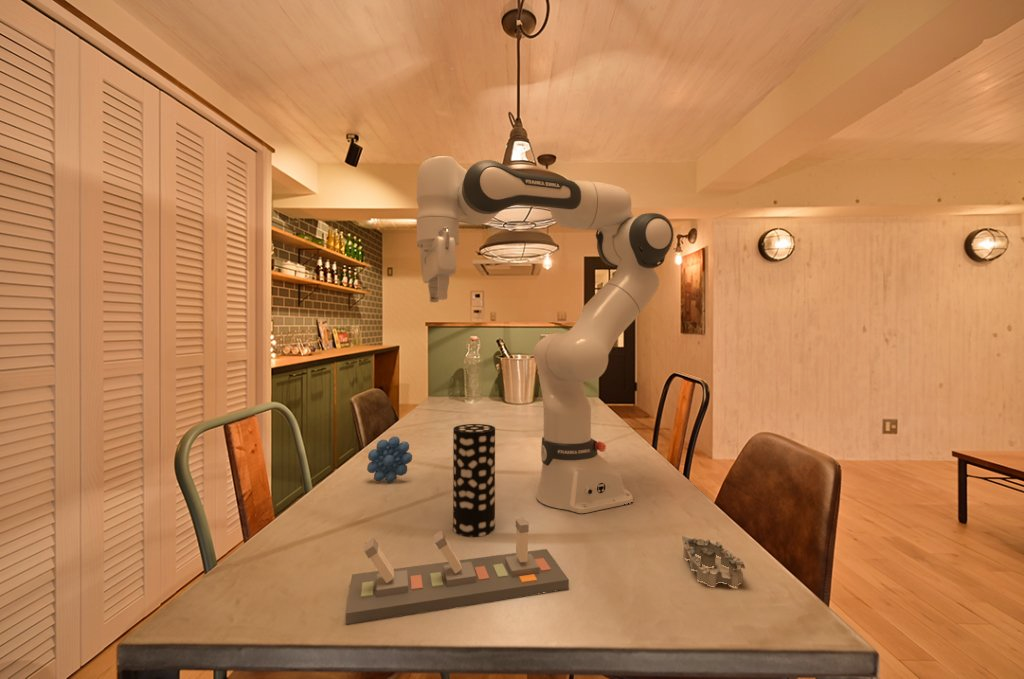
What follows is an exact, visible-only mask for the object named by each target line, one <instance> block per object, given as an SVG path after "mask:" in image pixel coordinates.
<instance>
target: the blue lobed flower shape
mask: <svg viewBox="0 0 1024 679" xmlns="http://www.w3.org/2000/svg"><path fill="white" fill-rule="evenodd" d="M400 441H401V439H400V438H399V437H398V436H392V437H390V438H389V440H387V439H380V440H378V442H377V443H376V447H375V449H371V450H370V451H369V452H368V453H367V454H368V456H367V458H368V460H369V461H370V462H369V463H368V464H367V467H366V470H367V472H368V473H370V474H373V479H374V480H375V482H381V481H383V480H384V479H385V482H387V483H394V482H395V481H396V479H397V477H398V476H401V477H402V476H404V475H405V474H407V472H408V466H407V465H408V464H410V463H411V462H412V460H413V454H412V453H411V452H408V451H409V449H410V444H409V442H408V441H401V442H400Z"/></svg>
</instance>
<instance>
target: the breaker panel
mask: <svg viewBox="0 0 1024 679" xmlns="http://www.w3.org/2000/svg"><path fill="white" fill-rule="evenodd" d="M459 561H460V564H461V567H462V569H461V570H460V571H459V572H457V573H456V574H455V573H454V571H453V569H452V568H451V566H450V565H449V563H448V561H444V562H443V561H442V562H438V563H437V562H434V563H429V564H419V565H414V566H412V565H411V566H406V567H398V568H393V569H394V579H392V580H391V581H389V582H388V583H386V582H385V580H384V579H383V577H382V576H381V574H380V573H379V571H378V570H375V571H367V572H361V573H360V572H359V573H352V574H351V579H350V586H349V591H348V598H347V599H348V600H347V606H346V611H345V612H346V613H345V625H350V624H357V623H363V622H369V621H370V622H371V621H376V620H382V619H388V618H389V619H390V618H395V617H401V616H409V615H414V614H421V613H427V612H433V611H439V610H440V611H441V610H446V609H447V610H448V609H452V608H458V607H465V606H471V605H478V604H483V603H484V604H485V603H490V601H491V602H496V601H503V600H509V598H510V599H516V598H515V597H517V598H521V597H520V596H523V597H527V596H526V595H529V596H532V595H531V594H536V595H539V594H538V593H542V594H544V593H543V592H548V593H552V592H551V591H555V590H556V591H555V592H558V591H557V590H561V591H566V589H567V590H569V588H570V584H569V583H570V580H569V578H568V577H567V576H568V575H566V574H565V572H564V571H563V569H562V568H561V566H560V565H559V564H558V562H557V561H556V559H554V557H553V555H551V553H550V551H549V550H548V549H547V548H542V549H537V550H536V549H535V550H528V561H527V562H520V561H519V559H518V557H517V556H516V552H512V553H505V554H498V555H497V554H496V555H490V556H489V555H488V556H484V557H483V556H481V557H474V558H467V559H459ZM564 589H565V590H564Z"/></svg>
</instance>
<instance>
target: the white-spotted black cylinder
mask: <svg viewBox="0 0 1024 679" xmlns="http://www.w3.org/2000/svg"><path fill="white" fill-rule="evenodd" d="M452 436H453V439H452V441H453V446H452V448H453V449H452V451H453V452H452V454H453V455H452V457H453V458H452V459H453V464H452V469H453V470H452V474H453V475H452V476H453V477H452V480H453V482H452V483H453V484H452V486H453V487H452V488H453V489H452V490H453V491H452V497H453V498H452V502H453V504H452V509H453V510H452V514H453V515H452V523H453V524H452V529H453V532H454V533H456V534H457V535H458V536H463V537H469V538H472V537H473V538H475V537H483V536H486V535H489V534H491V533H492V532H493V531H494V530H495V529H496V528H495V527H496V519H495V518H496V427H495V425H490V424H485V423H484V424H482V423H469V424H468V423H466V424H461V425H460V424H459V425H456V426H454V427H453V434H452Z"/></svg>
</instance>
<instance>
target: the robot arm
mask: <svg viewBox="0 0 1024 679" xmlns="http://www.w3.org/2000/svg"><path fill="white" fill-rule="evenodd" d="M416 179H417V180H416V203H417V206H418V213H417V216H416V243H417V249H418V250H420V252H419V253H420V254H419V255H420V267H421V268H420V269H421V276H422V281H423V284H427V285H428V286H427V287H428V293H429V303H439V300H441V301H444V300H447V299H448V290H449V285H450V277H452V276H454V275H455V274H456V271H457V254H456V252H457V251H456V249H457V248H456V246H458V245H459V244H460V222H461V223H464V224H469V225H473V226H480V225H484V224H487V223H489V222H490V221H491V220H492V219H494V218H495V217H496V216H497V215H498V214H499V213H500V212H501V211H504V210H506V209H508V208H511V207H515V206H517V207H518V206H519V207H528V208H529V207H530V208H540V209H548V210H550V211H549V212H550V215H551V217H552V219H553V221H554V222H555V223H556V225H558V226H559V227H562V228H565V229H569V230H576V231H577V230H579V231H580V230H581V231H582V230H585V231H596V232H595V238H596V249H597V253H598V255H599V257H600V260H601V262H603V263H604V264H605V265H608V266H611V267H613V268H614V267H616V270H615V272H614V274H613V276H612V277H611V278H610V279H608V281H607V282H605V284H604V285H603V286H602V287H601V288H600V289H598V291H597V292H596V293H595V294H594V295H593V296H592V297H591V298H590V299H589V300H588V301H587V302H586V303H585V304H584V306H583V307H582V310H581V314H580V316H579V317H578V319H577V320H576V322H575V323H574V324H573V325H572V327H571V328H570V329H569V330H568V331H565V332H563V333H562V332H554V333H550V334H548V335H546V336H544V337H542V338H541V339H540V340H539V341H538V342H537V343H536V344H535V346H534V348H533V361H534V364H535V365H536V368H537V372H538V379H539V385H540V386H539V387H540V390H541V395H542V403H543V404H542V405H543V436H542V438H541V446H540V448H541V449H540V458H541V462H542V466H541V467H542V468H541V474H540V481H539V485H538V489H537V493H536V496H535V497H536V499H537V501H538V502H539V503H541V504H543V505H545V506H548V507H551V508H555V509H560V510H567V511H571V512H574V513H578V514H587V513H591V512H595V511H596V512H597V511H600V510H605V509H609V508H614V507H619V506H625V505H628V503H629V504H632V503H631V502H634V498H633V497H634V496H633V494H632V493H631V492H630V491H629V490H628V489H627V488H625V487H624V486H623V480H622V476H621V473H620V471H619V470H618V469H617V468H616V467H614V466H613V465H612V464H611V463H609V461H607V460H606V459H605V458H604V457H602V456H601V455H600V454H598V453H599V452H603V453H604V452H605V451H606V449H607V445H606V444H605V443H604V442H602V441H597V440H595V439H594V438H592V435H591V433H592V428H591V427H592V426H591V425H592V409H591V408H592V406H591V404H590V401H589V398H588V397H587V394H586V391H585V388H584V383H586V382H593V381H595V380H597V379H598V378H600V377H602V375H603V374H605V371H606V370H607V368H608V364H609V354H610V353H611V351H612V349H613V347H614V345H615V344H616V342H617V340H618V339H619V338H620V337H621V335H622V334H623V333H624V332H625V331H626V330H627V328H628V327H630V325H631V324H632V323H633V322H634V321H635V319H636V318H637V317H639V316H640V314H641V313H642V312H643V311H644V309H645V308H646V307H647V306H648V304H649V303H650V301H651V300H652V299H653V297H654V296H655V294H656V292H657V291H658V289H659V286H660V285H659V284H660V283H659V282H660V279H659V276H658V273H657V272H656V271H655V269H656V268H657V267H660V266H661V265H662V264H663V263H664V262H665V259H666V255H668V252H669V251H670V249H671V247H672V244H673V241H674V228H673V225H672V222H670V220H669V219H668V217H666V216H665V215H663V214H660V213H656V212H649V213H647V212H646V213H642V214H640V215H638V216H634V214H633V212H632V198H631V196H630V194H629V192H628V191H627V190H626V189H625V188H623V187H621V186H618V185H615V184H610V183H606V182H602V181H592V180H579V179H578V180H577V179H574V180H573V179H565V178H561V177H555V176H547V175H541V174H534V173H529V172H528V173H527V172H521V171H518V170H515V169H512V168H511V167H509V166H506V165H505V164H503V163H502V162H498V161H496V160H491V159H483V160H479V161H477V162H475V163H474V164H472V165H471V166H470V167H469V168H467V169H466V168H464V167H463V166H462V165H461V164H459V163H458V162H457V161H456V159H455V158H454V157H453V156H450V155H443V154H442V155H441V154H439V155H435V156H431V157H429V158H426V159H425V160H424V161H423V162H422V163H421V164H420V166H419V168H418V172H417V178H416ZM598 451H599V452H598ZM624 504H625V505H624Z"/></svg>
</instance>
